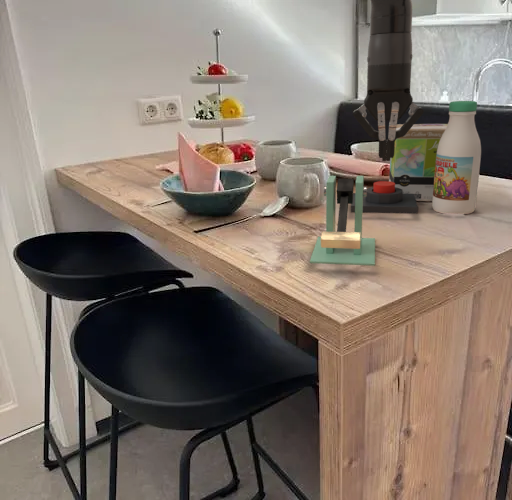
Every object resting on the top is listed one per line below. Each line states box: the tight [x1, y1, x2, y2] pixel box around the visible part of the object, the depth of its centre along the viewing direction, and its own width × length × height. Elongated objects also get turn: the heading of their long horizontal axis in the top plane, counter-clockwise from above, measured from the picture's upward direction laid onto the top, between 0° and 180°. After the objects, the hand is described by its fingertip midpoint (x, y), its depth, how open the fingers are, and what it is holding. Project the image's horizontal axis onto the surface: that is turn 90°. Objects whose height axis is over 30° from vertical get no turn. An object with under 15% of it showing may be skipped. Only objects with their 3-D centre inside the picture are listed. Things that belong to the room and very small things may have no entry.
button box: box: [350, 186, 419, 215], centre depth 97 cm, size 12×10×4 cm
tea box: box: [388, 123, 448, 202], centre depth 103 cm, size 15×10×15 cm, turn 80°
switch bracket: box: [309, 175, 376, 267], centre depth 73 cm, size 11×9×12 cm
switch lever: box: [320, 178, 361, 249], centre depth 68 cm, size 12×5×2 cm, turn 167°
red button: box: [372, 180, 395, 193], centre depth 96 cm, size 4×4×2 cm
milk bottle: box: [431, 100, 482, 215], centre depth 92 cm, size 8×8×20 cm
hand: (385, 160), depth 94 cm, fingers closed
